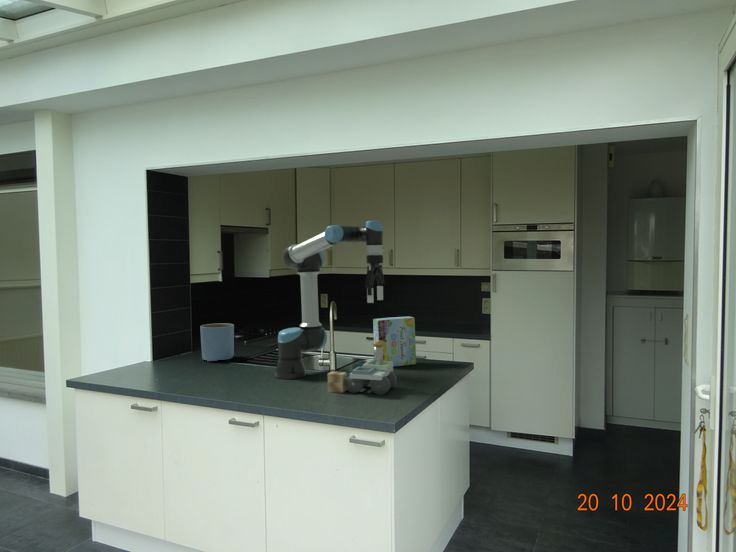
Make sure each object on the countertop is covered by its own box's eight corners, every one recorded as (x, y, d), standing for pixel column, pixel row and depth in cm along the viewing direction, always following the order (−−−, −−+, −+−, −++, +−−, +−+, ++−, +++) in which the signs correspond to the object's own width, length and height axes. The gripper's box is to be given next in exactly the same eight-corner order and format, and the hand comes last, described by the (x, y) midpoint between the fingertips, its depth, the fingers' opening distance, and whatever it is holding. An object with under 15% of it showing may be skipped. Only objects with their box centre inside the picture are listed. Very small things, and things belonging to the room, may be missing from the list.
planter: (204, 356, 328) (203, 323, 327) (236, 355, 330) (235, 322, 329) (198, 363, 309) (197, 328, 308) (232, 361, 311) (231, 327, 310)
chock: (327, 391, 240) (327, 373, 240) (332, 389, 245) (331, 371, 245) (342, 392, 238) (342, 374, 238) (346, 390, 243) (346, 372, 243)
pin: (372, 368, 243) (372, 343, 242) (374, 366, 247) (374, 341, 247) (382, 368, 241) (382, 343, 241) (384, 366, 246) (384, 342, 246)
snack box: (409, 362, 302) (409, 315, 301) (416, 364, 294) (416, 317, 293) (373, 365, 294) (372, 318, 293) (379, 368, 286) (378, 319, 285)
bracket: (371, 377, 267) (370, 361, 266) (364, 380, 261) (364, 364, 260) (339, 374, 275) (339, 358, 275) (332, 377, 269) (332, 361, 269)
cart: (342, 393, 236) (342, 369, 236) (357, 384, 253) (357, 361, 253) (386, 397, 230) (386, 372, 229) (398, 386, 247) (398, 363, 246)
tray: (362, 370, 241) (362, 364, 241) (370, 365, 251) (370, 360, 251) (386, 371, 238) (386, 365, 238) (393, 366, 247) (393, 361, 247)
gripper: (373, 254, 235) (374, 304, 235) (390, 254, 258) (391, 299, 259) (357, 255, 237) (358, 303, 238) (375, 254, 261) (376, 298, 261)
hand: (375, 301), depth 248 cm, fingers open, 13 cm apart
